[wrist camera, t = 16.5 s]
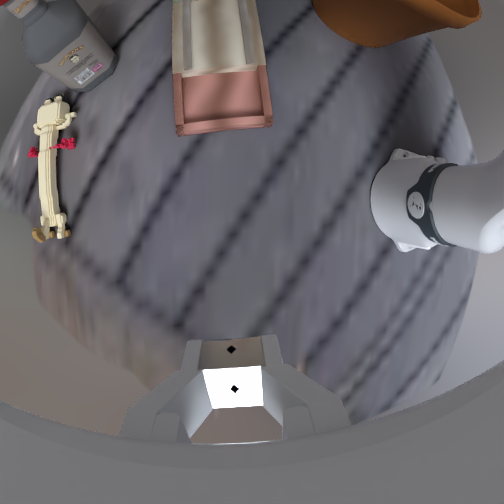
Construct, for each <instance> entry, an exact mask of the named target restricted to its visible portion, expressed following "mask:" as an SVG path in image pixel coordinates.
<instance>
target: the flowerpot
mask: <svg viewBox="0 0 504 504" xmlns="http://www.w3.org/2000/svg"><path fill="white" fill-rule="evenodd" d="M312 2H313V7H314V9H315V11H316V13H317V15H318V16H319V17H320V19H321V20H322V21H323V22H324V23H325V24H326V25H327V26H328V27H329V28H330V29H332V30H333V31H334V32H336V33H337V34H339V35H340V36H342V37H343V38H345V39H347V40H349V41H351V42H354V43H356V44H359V45H362V46H366V47H373V48H376V47H383V46H386V45H388V44H391V43H394V42H397V41H400V40H403V39H407V38H410V37H413V36H416V35H420V34H424V33H427V32H431V31H435V30H439V29H443V28H447V27H450V28H455V29H459V28H463V27H466V26H468V25H470V24H471V23H474V22H476V21H478V20H479V19H480V18H481V13H482V11H481V7H480V3H479V1H478V0H312Z"/></svg>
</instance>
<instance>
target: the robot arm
mask: <svg viewBox="0 0 504 504" xmlns="http://www.w3.org/2000/svg"><path fill="white" fill-rule="evenodd" d="M403 155H404V156H405V157H404V156H403ZM371 209H372V213H373V216H374V219H375V221H376V223H377V225H378V227H379V228H380V229H381V231H382V232H383V233H384V234H386V235H387V236H388V237H390V238H391V239H392V240H393V241H394V242H395V244H396V246H397V248H398V249H399V250H400V251H401V252H408V251H410V250H412V249H414V248H417V247H418V248H423V249H430V247H433V246H435V245H437V244H439V245H443V246H452V247H454V246H461V247H465V248H468V249H472V250H475V251H479V252H482V253H486V254H487V253H493V252H496V251H498V250H500V249H502V248H503V247H504V150H503V151H502V153H501V154H500V155H499V156H497V157H496V158H495V159H493V160H491V161H488V162H485V163H478V164H471V165H461V166H459V165H457V164H454V163H446V160H445V159H444V158H439V157H436V158H435V159H434V157H433V156H427V157H426V156H421V155H418V154H415V153H412V152H409V151H406V150H403V149H395V150H394V151H393V153H392V155H391V157H390V160H389V161H388V163H387V164H386V165H384V166H383V167H382V168H381V169H380V171H379V172H378V173H377V175H376V177H375V179H374V181H373V185H372V189H371ZM257 405H263V407H264V408H265V409H266V410H267V411H268V412H269V413H270V414H271V415H272V416H273V417H274V418H275V419H276V420H277V421H278V422H279V423H280V424H281V425H282V426H283V432H282V439H279V440H271V441H261V442H247V443H229V444H228V443H227V444H193V443H192V442H191V440H190V437H191V436H192V435H193V433H194V432H195V431H196V430H197V428H198V427H199V426H200V425H201V423H202V422H203V421H204V420H205V418H206V417H207V416H208V415H209V413H210V412H211V411H212V408H225V407H239V406H257ZM0 504H504V360H503V361H502V362H500V363H498V364H497V365H495V366H494V367H492V368H490V369H489V370H487V371H485V372H484V373H482V374H481V375H479V376H477V377H475V378H473V379H471V380H469V381H467V382H466V383H464V384H462V385H460V386H458V387H456V388H454V389H452V390H450V391H448V392H445V393H444V394H441V395H439V396H437V397H434V398H432V399H430V400H427V401H425V402H423V403H420V404H417V405H415V406H413V407H410V408H407V409H404V410H402V411H399V412H396V413H393V414H390V415H387V416H384V417H381V418H378V419H375V420H371V421H368V422H364V423H360V424H357V425H353V426H351V424H350V421H349V419H348V416H347V414H346V411H345V409H344V407H343V404H342V402H341V399H340V397H338V396H337V395H335V394H333V393H332V392H330V391H329V390H327V389H325V388H324V387H322V386H321V385H319V384H318V383H316V382H315V381H313V380H311V379H310V378H308V377H307V376H305V375H304V374H302V373H301V372H299V371H298V370H296V369H295V368H293V367H292V366H291V365H289V364H283V360H282V356H281V352H280V348H279V343H278V339H277V335H276V334H272V335H264V336H259V337H249V338H237V339H210V340H189V341H188V342H187V345H186V349H185V353H184V357H183V362H182V366H181V371H175V372H174V373H173V374H172V375H170V376H169V377H168V378H167V379H165V380H164V381H163V382H161V383H160V384H159V385H158V386H156V387H155V388H154V389H153V390H151V391H150V392H149V393H148V394H146V395H145V396H144V397H142V398H141V399H140V400H138V401H137V402H136V403H135V404H133V405H132V406H131V407H129V408H128V410H127V413H126V416H125V419H124V422H123V425H122V428H121V431H120V434H119V436H114V435H109V434H103V433H99V432H94V431H90V430H85V429H81V428H77V427H73V426H69V425H66V424H62V423H59V422H56V421H52V420H49V419H47V418H44V417H40V416H38V415H35V414H32V413H29V412H27V411H24V410H21V409H19V408H17V407H14V406H12V405H10V404H7V403H5V402H2V401H0Z"/></svg>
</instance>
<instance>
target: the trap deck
mask: <svg viewBox="0 0 504 504" xmlns="http://www.w3.org/2000/svg"><path fill="white" fill-rule="evenodd" d="M172 72H173V87H174V108H175V124H176V134H177V135H178V136H179V137H180V136H186V135H193V134H200V133H208V132H216V131H225V130H236V129H247V128H262V127H271V126H272V124H273V123H274V122H273V114H272V107H271V99H270V92H269V85H268V78H267V71H266V60H265V54H264V48H263V42H262V36H261V30H260V24H259V18H258V13H257V7H256V2H255V0H198V1H195V0H173V10H172Z"/></svg>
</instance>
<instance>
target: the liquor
mask: <svg viewBox="0 0 504 504" xmlns="http://www.w3.org/2000/svg"><path fill="white" fill-rule="evenodd" d="M2 5H3V6H4V7H5V8H7V9H8V10H9V11H10V12H11V13H13V14H14V15H15V16H16V17H17V18H19V19H20V20H21V21H22V22H23V25H24V28H23V34H22V41H23V46H24V50H25V53H26V56H27V58H28V60H29V62H31V63H33V64H34V65H35V66H37V67H38V68H40V69H42V70H43V71H45V72H46V73H48V74H49V75H51V76H52V77H54V78H55V79H57V80H58V81H60V82H61V83H63V84H64V85H66V86H67V87H69V88H70V89H72V90H73V91H75V92H89V91H91V90H92V89H94V88H95V87H96V86H97V85H99V84H100V83H101V82H103V81H104V80H105V79H106V78H108V77H109V76H111V75H112V74H113V72H114V69H115V67H116V65H117V62H118V58H117V56H116V55H115V53H114V52H113V50H112V48H111V47H110V45H109V44H108V42H107V41H106V40H105V38H104V37H103V36H102V34H101V33H100V32H99V30H98V29H97V28H96V26H95V25H94V24H93V23H92V21H91V20H90V19H89V17H88V16H87V15H86V13H85V12H84V11H83V9H82V8H81V7H80V6H79V5H78V3H77V2H76V0H57V1H52V2H47V3H46V2H45V0H0V6H2Z"/></svg>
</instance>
